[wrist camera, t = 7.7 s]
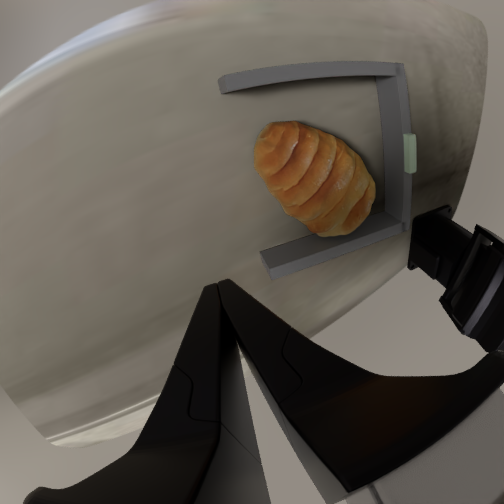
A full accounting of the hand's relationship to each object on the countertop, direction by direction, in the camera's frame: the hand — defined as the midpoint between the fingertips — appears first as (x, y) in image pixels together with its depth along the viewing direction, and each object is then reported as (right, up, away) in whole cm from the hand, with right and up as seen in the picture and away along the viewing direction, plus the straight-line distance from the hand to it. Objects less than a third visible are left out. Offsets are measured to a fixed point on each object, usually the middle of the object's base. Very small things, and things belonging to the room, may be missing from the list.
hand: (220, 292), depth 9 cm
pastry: (+5, +7, +11) cm, 14 cm away
